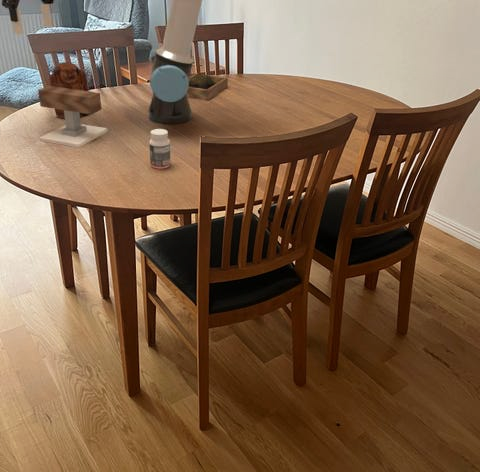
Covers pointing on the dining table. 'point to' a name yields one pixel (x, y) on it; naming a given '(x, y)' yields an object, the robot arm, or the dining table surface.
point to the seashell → (201, 81)
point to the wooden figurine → (68, 81)
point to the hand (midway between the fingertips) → (34, 30)
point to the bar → (70, 99)
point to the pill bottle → (160, 149)
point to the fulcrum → (73, 132)
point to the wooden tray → (209, 93)
